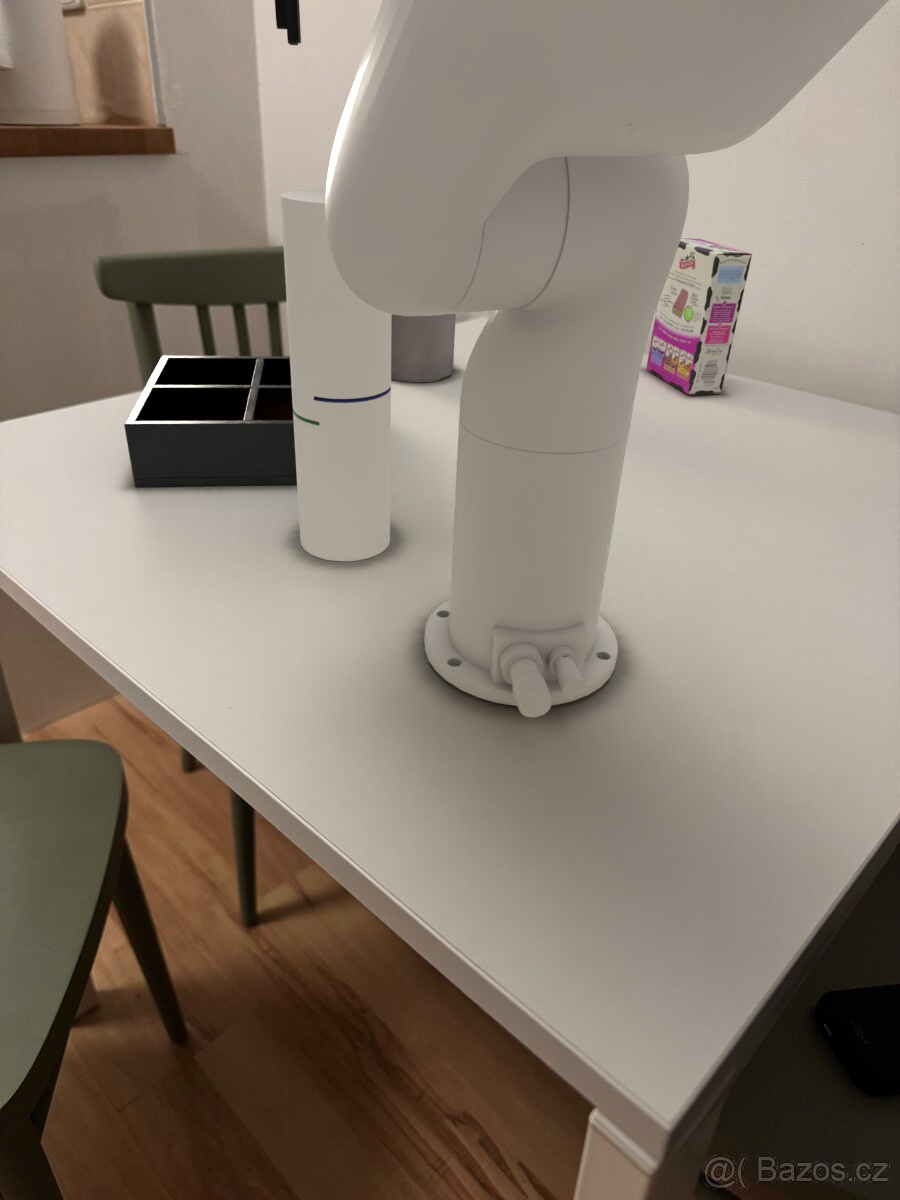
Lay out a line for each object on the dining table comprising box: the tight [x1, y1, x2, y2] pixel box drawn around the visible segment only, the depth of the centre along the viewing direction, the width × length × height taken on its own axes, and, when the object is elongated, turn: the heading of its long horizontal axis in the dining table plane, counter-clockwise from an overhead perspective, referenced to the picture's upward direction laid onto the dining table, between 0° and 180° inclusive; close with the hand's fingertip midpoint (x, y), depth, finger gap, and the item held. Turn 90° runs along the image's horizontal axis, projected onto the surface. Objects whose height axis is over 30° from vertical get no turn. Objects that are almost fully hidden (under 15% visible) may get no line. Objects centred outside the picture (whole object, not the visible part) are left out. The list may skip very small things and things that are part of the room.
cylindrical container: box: [280, 189, 392, 562], centre depth 61 cm, size 7×7×25 cm
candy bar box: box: [645, 237, 753, 396], centre depth 103 cm, size 11×5×16 cm, turn 17°
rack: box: [123, 355, 297, 488], centre depth 82 cm, size 20×20×6 cm
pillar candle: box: [391, 314, 457, 383], centre depth 102 cm, size 10×10×15 cm
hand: (368, 47), depth 55 cm, fingers open, 9 cm apart
